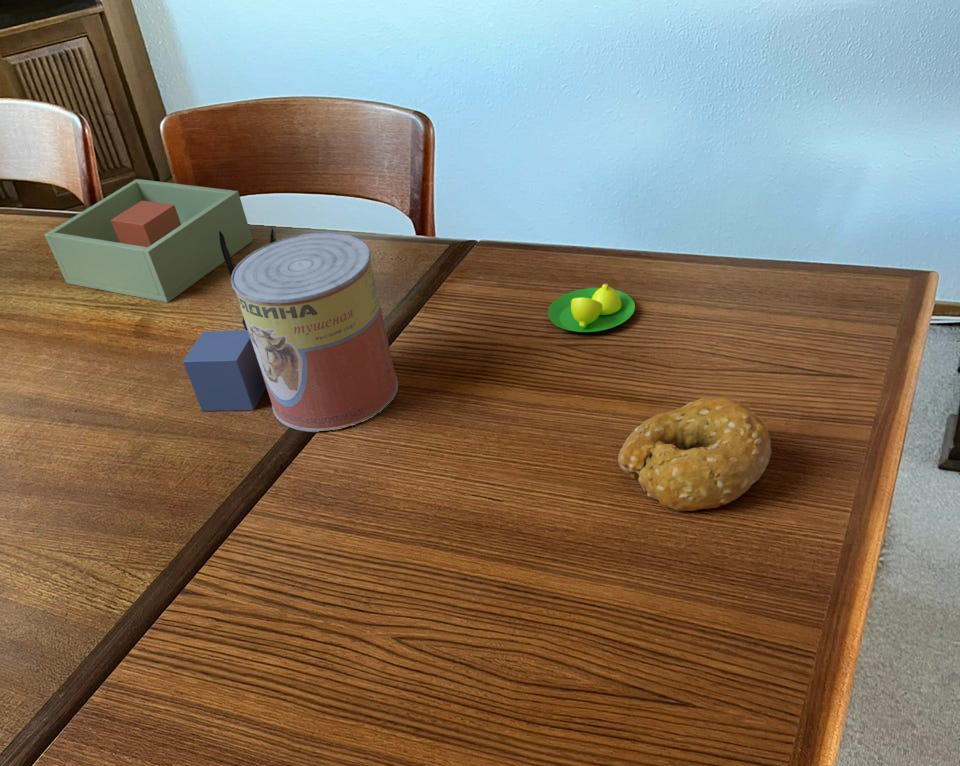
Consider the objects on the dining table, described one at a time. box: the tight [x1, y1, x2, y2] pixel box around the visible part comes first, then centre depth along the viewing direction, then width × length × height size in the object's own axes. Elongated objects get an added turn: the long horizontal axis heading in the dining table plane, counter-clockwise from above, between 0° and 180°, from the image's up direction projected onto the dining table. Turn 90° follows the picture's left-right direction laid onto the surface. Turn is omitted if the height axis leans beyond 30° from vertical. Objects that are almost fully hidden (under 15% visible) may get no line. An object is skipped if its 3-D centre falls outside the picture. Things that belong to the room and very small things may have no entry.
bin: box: [44, 178, 254, 303], centre depth 107 cm, size 16×15×6 cm
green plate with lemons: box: [547, 283, 636, 333], centre depth 88 cm, size 8×8×3 cm
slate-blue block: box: [182, 329, 267, 412], centre depth 86 cm, size 5×5×5 cm
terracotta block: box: [111, 201, 181, 248], centre depth 107 cm, size 5×5×5 cm
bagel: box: [617, 396, 772, 512], centre depth 70 cm, size 10×11×5 cm
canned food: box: [230, 232, 399, 433], centre depth 81 cm, size 11×11×12 cm
